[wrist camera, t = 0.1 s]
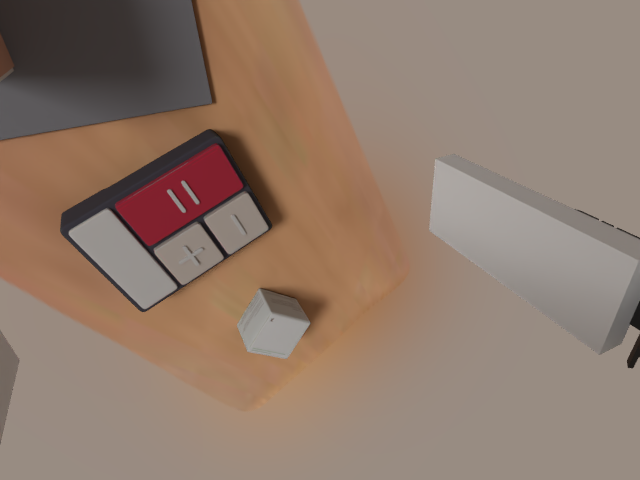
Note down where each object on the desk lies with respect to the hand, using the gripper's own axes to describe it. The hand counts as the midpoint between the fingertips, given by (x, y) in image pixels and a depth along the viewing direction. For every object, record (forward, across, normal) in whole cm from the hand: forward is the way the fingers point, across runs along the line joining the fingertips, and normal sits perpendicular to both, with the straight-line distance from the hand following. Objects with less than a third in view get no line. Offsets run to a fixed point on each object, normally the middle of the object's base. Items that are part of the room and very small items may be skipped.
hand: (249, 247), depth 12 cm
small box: (+28, +6, -27) cm, 39 cm away
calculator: (+28, -2, -12) cm, 31 cm away
